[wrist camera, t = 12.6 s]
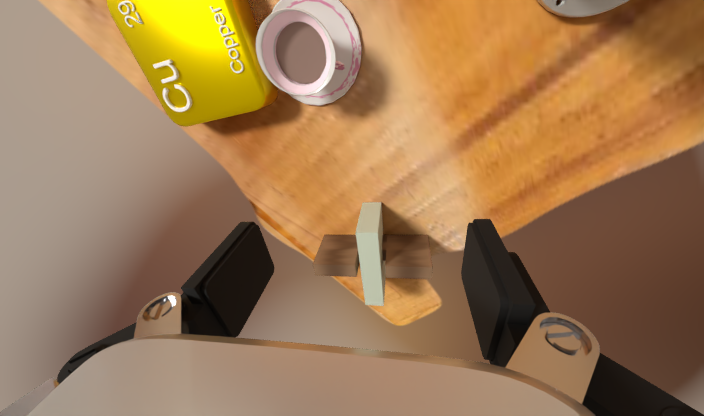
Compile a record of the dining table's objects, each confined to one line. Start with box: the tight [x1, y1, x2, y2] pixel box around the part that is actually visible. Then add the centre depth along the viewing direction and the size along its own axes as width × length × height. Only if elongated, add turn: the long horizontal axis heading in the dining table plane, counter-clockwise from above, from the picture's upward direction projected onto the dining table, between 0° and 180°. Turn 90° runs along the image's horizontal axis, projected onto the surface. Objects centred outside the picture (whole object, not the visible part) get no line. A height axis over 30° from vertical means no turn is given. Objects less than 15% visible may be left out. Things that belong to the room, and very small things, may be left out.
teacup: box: [256, 0, 362, 106], centre depth 28 cm, size 12×12×6 cm
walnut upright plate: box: [313, 235, 433, 279], centre depth 42 cm, size 18×2×8 cm, turn 97°
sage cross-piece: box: [356, 202, 386, 306], centre depth 41 cm, size 3×15×8 cm, turn 7°
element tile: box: [107, 0, 277, 126], centre depth 31 cm, size 15×15×5 cm
